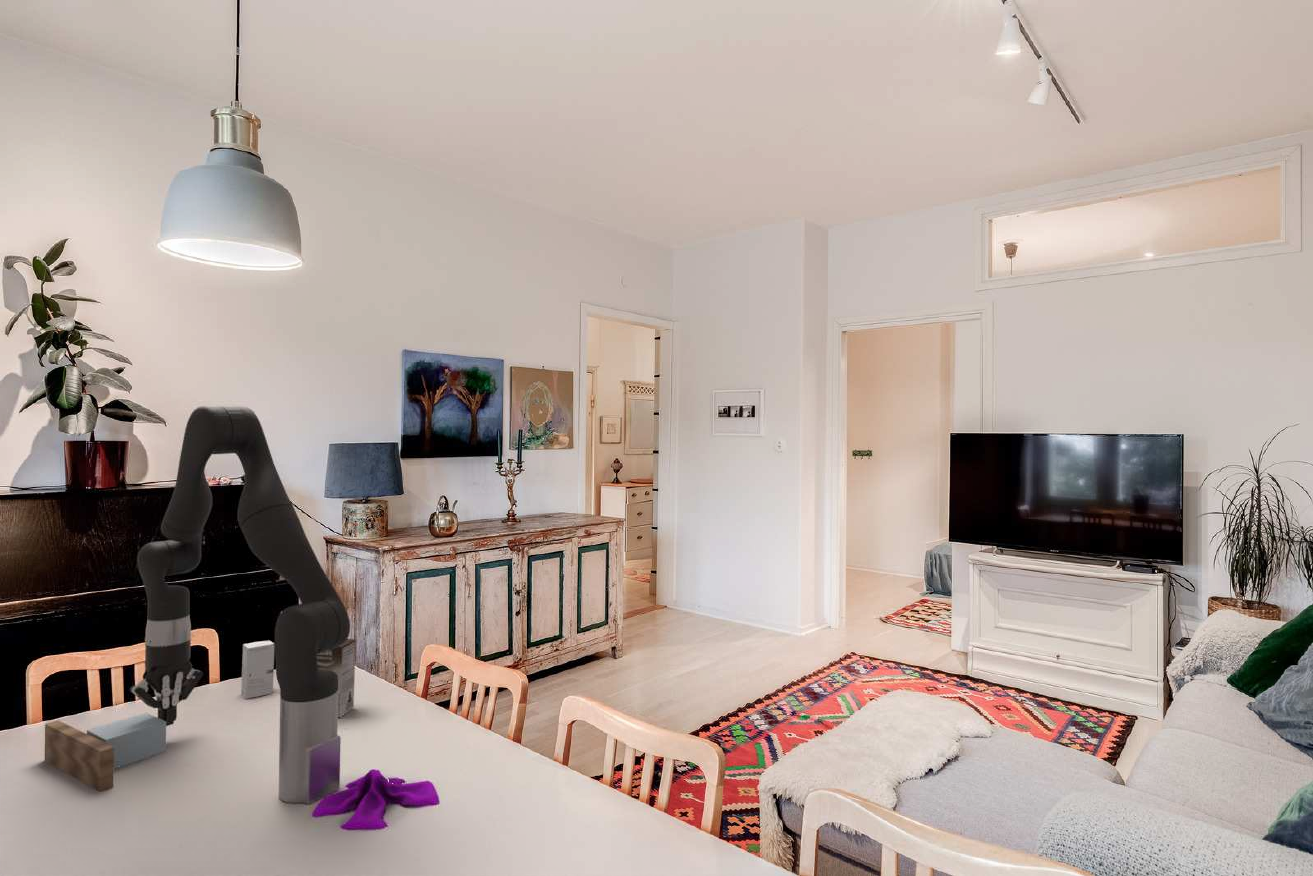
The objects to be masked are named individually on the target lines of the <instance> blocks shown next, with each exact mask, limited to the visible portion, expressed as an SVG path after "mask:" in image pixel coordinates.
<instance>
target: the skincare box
mask: <svg viewBox="0 0 1313 876" xmlns="http://www.w3.org/2000/svg"><path fill="white" fill-rule="evenodd" d="M241 657H242V661H241V664H242V666H241V693H240V694H241V696H242V697H243V696H244V697H243V698H244V699H245V700H246V699H251V698H258V697H261V696H267V695H271V694H273V692H274V669H275V667H274V666H275V642H272V641H271V640H269V639H268V640H262V641H253V642H249V643H243V644H242V656H241Z"/></svg>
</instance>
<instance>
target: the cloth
mask: <svg viewBox="0 0 1313 876" xmlns="http://www.w3.org/2000/svg"><path fill="white" fill-rule="evenodd" d="M386 778H388V779H389V782H388V780H387V779H386ZM392 783H393V784H392ZM402 783H403V784H402ZM344 787H345V788H346V787H347V788H346V789H343V790H340V791H335V792H332V793H330V794H328V795H326V796H324V797H322V798H320V799H319V800H320V801H318V804H317V805H316V807H315V808H314V810H313V811H312V814H311V817H312V818H315V819H316V818H322V817H326V816H327V817H329V816H336V815H337V816H338V815H339V816H340V815H345V814H348V813H351V812H352V811H354V813H353V815H352V816H351V817H350V818H349V819H348V820H347V821H346V822H345V823H343V824H342V825H340V829H341V830H345V831H346V830H347V831H355V830H356V831H358V830H363V831H367V830H368V831H369V830H371V831H375V830H376V829H377V830H384V829H386V828H388V827H389V826H388V825H389V824H388V822H386V821H385V819H384V818H385V814H384V813H386V809H387V806H388V805H399V806H400V807H403V808H405V807H409V806H413V807H417V808H419V807H425V806H426V807H430V806H431V807H432V806H433V807H435V806H437V805H440V800H439V795H438V793H437V789H436V787H435V785H434V783H433V782H431V781H430V780H423V781H419V782H416V781H415V782H410V783H406V781H405V779H403V778H400V777H385V776H384V775H383V774H382V773H381V771H380V770H379V769H375V768H373V769H372V768H371V769H370V770H369V771H368V772H367V773H366V774H365V775H364V776H361V777H359V778H357V779H356V780H353V781H350V782H348V783H346V784H345V786H344ZM404 806H405V807H404ZM383 816H384V818H383ZM383 819H384V820H383ZM387 824H388V825H387ZM385 827H386V828H385Z"/></svg>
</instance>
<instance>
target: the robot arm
mask: <svg viewBox="0 0 1313 876" xmlns="http://www.w3.org/2000/svg"><path fill="white" fill-rule="evenodd" d="M227 454H228V455H229V454H235V455H236V456H237V457H238V459H239V462H240V463H241V466H242V469H243V473H244V485H243V489H242V491H241V495H240V498H239V501H238V507H237V515H236V516H237V522H238V525H239V527H240V530H241V532H242V534H243V536H244V539H245V540H246V543H247V545H248V547H249V549H250V551H251V552H252V553H253V555H254V556H256V558H258V560H260V562H262V563H263V564H265V565H266V566H267V567H268V568H270V569H271V570H272V571H274V572H275V573H277V574H278V575H279V576H280V577H282V578H283V579H284V580H285V581H286V582H287V583H288V584H289V585H290V586H291V587H292V589H293V590H294V592H295V593H296V595H297V597H298V599H299V601H300V603H299V604H295V605H291V606H289V607H286V608H284V610H282V611H281V613H280V614H279V615H278V617H277V620H276V624H275V628H274V657H275V675H276V676H275V677H276V680H277V683H278V685H279V686H278V687H279V689H280V690H279V691H280V692H279V693H280V696H279V703H280V704H279V747H278V750H279V753H278V758H279V759H278V797H279V799H280V800H281V801H283V802H286V803H293V804H295V803H300V804H301V803H304V804H306V805H307V804H311V803H314V802H315V801H318V800H321V799H323V798H324V797H325V796H328V795H330V794H333V793H335V792H338V791H339V790H340V789H341V741H342V739H341V736H340V735H338V730H339V729H338V727H339V726H338V725H339V723H338V722H339V718H338V675H337V674H336V673H335V672H334V671H331V670H327V669H318V666H317V654H318V653H321V652H324V651H327V650H330V649H333V648H336V647H338V646H340V645H342V644H343V643H344V642H345V641H346V640H347V639H349V636H350V633H351V621H350V617H349V613H348V610H347V609H346V606H345V604H344V602H343V601H342V599H341V597H340V596H339V594H338V592H337V591H336V589H335V586H333V584H332V583H331V581H330V579H329V578H328V575H327V574H326V573H325V570H324V569H323V567H322V565H321V563H320V561H319V559H318V558H317V555H316V553H315V552H314V549H313V548H312V545H311V544H310V542H309V539H308V537H307V535H306V532H305V529H304V527H303V525H302V523H301V519H300V518H299V516H298V514H297V511H296V510H295V507H294V505H293V503H292V501H291V500H290V497H289V496H288V493H287V491H286V488H285V487H284V484H283V482H282V480H281V478H280V475H279V472H278V470H277V468H276V466H275V462H274V460H273V457H272V454H271V450H270V447H269V445H268V441H267V438H266V435H265V432H264V429H263V427H262V424H261V421H260V419H259V417H258V416H257V415H256V413H255V411H254V410H252V409H251V408H250V407H248V406H244V405H236V404H235V405H234V404H233V405H214V404H213V405H212V404H211V405H209V404H208V405H202V406H198V407H196V408H195V409H194V410H192V412H191V414H190V416H189V418H188V420H187V423H186V426H185V429H184V435H183V440H182V444H181V451H180V455H179V457H180V458H179V460H178V461H179V462H178V468H177V476H176V481H175V485H174V490H173V492H172V496H171V498H170V500H169V503H168V506H167V508H166V511H165V514H164V516H163V518H162V520H161V521H162V522H161V525H160V532H161V534H162V535H163V536H164V537H165V538H166V539H168V540H162V541H161V540H159V541H151V542H148V543H146V544H144V545H143V546H142V547H141V548H140V550H139V551H138V553H137V557H136V565H137V568H138V571H139V574H140V577H141V579H142V583H143V586H144V590H145V594H146V598H147V611H146V613H147V619H146V626H145V637H144V642H145V656H144V657H145V658H144V660H145V661H144V663H145V666H144V667H145V670H144V673H143V675H142V680H140V681H139V682H138V683H137V684H136V685H135V684H134V685H132V686H130V688H129V691H130V692H131V693H132V694H134V695H135V696H136V697H137V698H138V699H139V700H140V701H142V702H143V704H146V706H148V707H150V708H151V709H157V718H159V719H162V720H164V721H166V727H168V726H171V725H174V722H175V721H176V720H177V717H178V716H177V715H178V714H177V713H178V712H177V711H178V708H177V707H178V704H179V703H180V702H182V701H186V700H187V699H188V698H189V696H190V695H191V693H192V692H193V691H194V689H195V687H196V686H197V685H198V683H199V681H200V680H201V678H202V677H203V676H204V672H203V671H202V670H199V669H195V668H193V664H192V663H191V661H190V659H191V654H192V653H191V651H192V650H191V647H192V646H191V644H192V643H191V641H192V638H191V637H192V635H191V633H192V623H191V618H190V617H191V616H190V613H191V612H190V611H191V610H190V607H191V606H190V605H191V604H190V602H191V599H190V598H191V595H190V594H191V593H190V590H189V588H188V587H187V586H183V585H177V584H176V585H171V584H170V585H168V584H167V582H166V580H165V577H168V576H174V575H182V574H186V573H190V572H192V571H194V570H195V569H196V568H197V567H198V566H199V564H200V563H201V559H202V540H203V530H204V528H205V525H206V523H207V521H208V518H209V516H210V514H211V512H212V508H213V494H212V491H211V488H210V485H209V483H208V480H207V477H206V473H205V471H206V470H205V469H206V465H207V463H208V461H209V460H210V458H211V456H212V455H227ZM148 686H149V687H150V688H151V689H152V690H153V691H154V695H155V698H156V699H155V698H154V697H153V696H152V695H151V694H150V693H148V691H149V687H148Z"/></svg>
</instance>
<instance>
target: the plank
mask: <svg viewBox="0 0 1313 876" xmlns="http://www.w3.org/2000/svg"><path fill="white" fill-rule="evenodd" d="M44 760H45V762H46V763H48V764H49V765H51V766H53V765H54V766H53V767H55V768H57V769H59V770H60V769H61V770H60V771H63V772H64V773H66V774H67V775H69V774H70V775H69V776H71V777H73V778H75V779H77V780H78V779H79V780H78V781H79V782H82V783H84V784H85V785H87V786H89V787H91V788H93V789H95V790H96V791H98V792H102V791H104V790H105V791H106V790H109V789H110V787H111V788H113V787H114V771H115V770H114V769H115V768H114V747H113V746H111V745H109V744H106V743H104V742H102V741H100V740H98V739H96V738H94V737H92V736H90V735H88V734H87V732H83V731H81V730H79V729H78V728H75V727H73V726H71V725H69V724H67V723H65V722H62V721H61V720H58V719H57V720H55V721H54V720H53V721H50V722H47V723H44Z"/></svg>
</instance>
